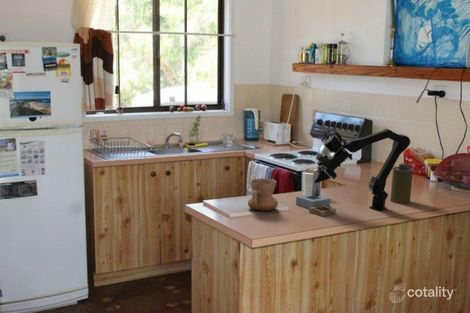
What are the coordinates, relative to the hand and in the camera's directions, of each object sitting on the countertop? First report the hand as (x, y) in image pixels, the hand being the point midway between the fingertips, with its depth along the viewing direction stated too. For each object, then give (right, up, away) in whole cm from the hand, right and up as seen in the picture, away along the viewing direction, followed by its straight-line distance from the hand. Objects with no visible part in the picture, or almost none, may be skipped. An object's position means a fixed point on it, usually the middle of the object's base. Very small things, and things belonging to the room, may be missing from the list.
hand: (313, 181), depth 293 cm
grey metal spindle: (+1, -7, +1) cm, 7 cm away
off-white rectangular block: (+3, -9, +27) cm, 29 cm away
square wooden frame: (+3, -15, -5) cm, 16 cm away
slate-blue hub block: (0, -12, +8) cm, 14 cm away
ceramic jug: (-26, -14, -3) cm, 29 cm away
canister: (+48, -12, +22) cm, 54 cm away
